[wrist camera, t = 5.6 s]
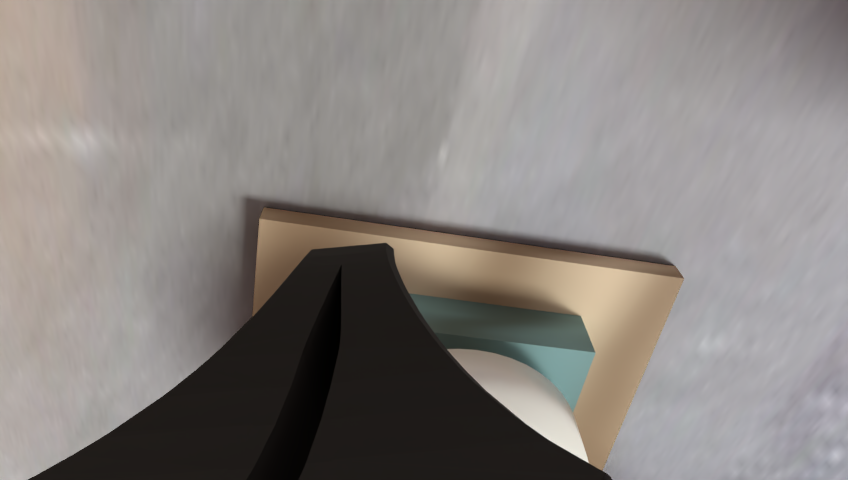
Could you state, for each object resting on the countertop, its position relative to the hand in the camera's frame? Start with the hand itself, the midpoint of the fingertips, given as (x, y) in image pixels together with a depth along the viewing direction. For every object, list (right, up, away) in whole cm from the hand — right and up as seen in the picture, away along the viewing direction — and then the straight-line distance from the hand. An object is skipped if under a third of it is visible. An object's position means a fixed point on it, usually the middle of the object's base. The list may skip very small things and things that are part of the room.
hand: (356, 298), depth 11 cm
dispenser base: (+2, -4, +14) cm, 15 cm away
